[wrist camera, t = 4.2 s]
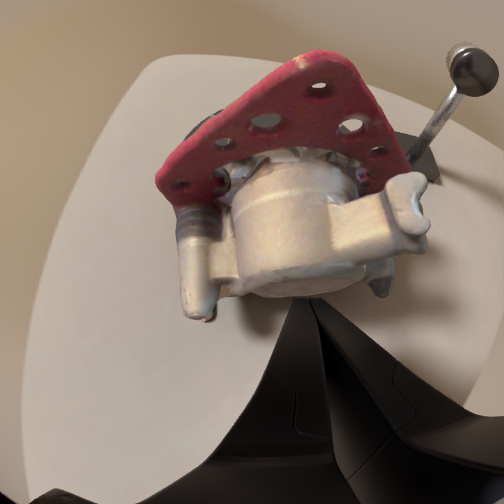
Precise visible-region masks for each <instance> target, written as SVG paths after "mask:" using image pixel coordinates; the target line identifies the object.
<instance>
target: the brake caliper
mask: <svg viewBox="0 0 504 504" xmlns="http://www.w3.org/2000/svg"><path fill="white" fill-rule="evenodd" d="M317 83H326V86H325V87H323V88H313V87H311V86H312V85H314V84H317ZM270 113H273V114H278V115H280V117H281V119H280V121H279V122H278V123H276V124H275V125H273V126H269V127H261V126H257V125H254V124H253V123H252V122H251V119H252V118H254V117H257V116H259V115H262V114H270ZM350 119H358V120H361V121H362V126H361V127H360V128H359V129H357V130H355V131H351V132H341V131H340V127H339V125H340V124H341V123H342V122H343V121H346V120H350ZM220 139H228V144H227V145H218V144H216V143H215V141H217V140H220ZM376 147H379V148H377V149H373V148H376ZM372 149H373V150H372ZM332 152H333V154H334V155H335V156H336V159H335V160H334V161H333V162H331V161H329V160H330V158H331V156H332ZM339 158H345V159H346V160H347V161H348V164H347V165H346V167H344V166H343V165H342V164H341V163H340V162H339ZM227 164H228V165H227ZM224 165H227V167H226V168H224V167H222V166H224ZM366 169H368V170H366ZM155 184H156V186H157V188H158V190H159V191H160V192H161V193H162V194H163V195H164V196H165V198H166V199H167V200H168V201H169V202H170V203H171V204H172V206H173V209H174V212H175V214H176V218H177V224H176V240H177V249H178V263H179V278H180V294H181V300H182V309H183V313H184V315H185V316H186V317H188V318H190V319H194V320H201V321H202V322H205V321H207V320H209V319H211V318H212V316H213V308H214V306H215V304H216V302H217V301H218V300H219V299H221V298H224V297H235V296H244V295H246V294H248V293H250V292H252V293H255V294H257V295H259V296H262V297H267V298H277V297H290V296H308V295H314V294H321V293H328V292H334V291H338V290H342V289H344V288H347V287H348V286H350V285H352V284H355V283H357V282H358V281H364V282H365V283H367V284H368V285H369V287H370V288H371V289H372V290H373V292H374V294H375V295H376V296H377V297H379V298H384V297H386V296H388V295H389V294H390V292H391V290H392V280H393V277H394V262H393V257H394V256H397V255H400V254H405V253H411V254H423V253H425V252H426V251H427V250H428V241H427V237H426V234H425V233H427V231H428V230H429V228H430V226H431V224H430V220H428V219H427V218H425V217H424V216H423V208H422V204H421V203H420V202H419V200H420V198H421V196H422V194H423V193H424V192H425V190H426V189H427V186H428V181H427V178H426V177H425V175H423V174H422V173H420V172H411V166H410V164H409V162H408V161H407V159H406V157H405V154H404V152H403V150H402V149H401V147H400V144H399V142H398V140H397V138H396V135H395V132H394V130H393V128H392V127H391V125H390V124H389V122H388V120H387V118H386V116H385V114H384V112H383V110H382V109H381V107H380V106H379V105H378V103H377V101H376V99H375V97H374V96H373V94H372V93H371V91H370V90H369V89H368V87H367V86H366V84H365V83H364V81H363V80H362V78H361V76H360V74H359V72H358V71H357V69H356V67H355V66H354V65H353V63H351V62H350V61H349V60H348V59H347V58H345V57H344V56H343V55H341V54H339V53H337V52H335V51H330V50H319V49H318V50H312V51H309V52H306V53H304V54H301V55H299V56H297V57H295V58H293V59H291V60H289V61H288V62H286V63H285V64H283V65H282V66H280V67H278V68H277V69H275V70H274V71H273V72H271V73H270V74H268V75H267V76H266V77H265V78H263V79H262V80H261V81H260V82H258V83H257V84H256V85H254V86H253V87H252V88H250V89H249V90H248V91H246V92H245V93H244V94H243V95H242V96H241V97H240V98H238V99H237V100H236V101H234V102H233V103H231V104H229V105H228V106H227V107H226V108H225V109H224V110H222V111H221V112H220V113H219V114H217V115H215V116H213V117H211V118H209V119H208V120H207V121H206V122H204V123H203V124H202V125H201V126H200V127H199V128H198V129H197V131H196V132H195V133H194V134H193V135H191V136H190V137H189V138H187V139H186V140H185V141H183V142H182V143H181V144H180V145H179V146H178V147H177V148H176V149H175V150H174V151H173V152H172V153H171V154H170V155H169V156H168V158H167V159H166V161H165V162H164V164H163V166H162V168H161V169H160V170H159V171H158V172H157V173H156V175H155Z"/></svg>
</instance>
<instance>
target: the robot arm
mask: <svg viewBox="0 0 504 504" xmlns="http://www.w3.org/2000/svg"><path fill="white" fill-rule="evenodd" d="M0 504H18V503H17V502H15V501H14V500H12V499H11V498H10V497H8V496H7V495H5V494H4V493H2V492H1V491H0ZM29 504H97V503H94V502H92V501H89V500H87V499H84V498H82V497H79V496H77V495H74V494H72V493H70V492H67V491H64V490H61V489H58V488H54V489H52V490H50V491H48V492H47V493H45V494H43V495H41V496H39V497H38V498H36V499H34V500H33V501H32V502H31V503H29ZM136 504H504V416H499V417H486V416H480V415H476V414H474V413H472V412H470V411H468V410H466V409H464V408H463V407H461V406H460V405H459V404H457V403H456V402H454V401H453V400H451V399H450V398H448V397H447V396H445V395H444V394H442V393H441V392H439V391H438V390H436V389H435V388H433V387H432V386H430V385H429V384H428V383H426V382H425V381H423V380H422V379H421V378H419V377H418V376H417V375H415V374H414V373H413V372H412V371H410V370H409V369H408V368H407V367H405V366H404V365H403V364H402V363H401V362H399V361H396V358H394V357H393V356H392V355H391V354H390V353H388V352H387V351H386V350H385V349H383V348H382V347H381V346H380V345H379V344H377V343H376V342H375V341H374V340H373V339H371V338H370V337H369V336H368V335H366V334H365V333H364V332H363V331H362V330H360V329H359V328H358V327H357V326H355V325H354V324H353V323H352V322H351V321H349V320H348V319H347V318H346V317H344V316H343V315H342V314H341V313H340V312H338V311H337V310H336V309H335V308H333V307H332V306H331V305H330V304H328V303H327V302H326V301H325V300H324V299H322V298H308V299H307V298H297V297H296V298H294V299H293V301H292V304H291V306H290V309H289V312H288V314H287V317H286V320H285V322H284V325H283V327H282V330H281V332H280V335H279V338H278V340H277V343H276V345H275V348H274V350H273V352H272V355H271V357H270V360H269V362H268V365H267V367H266V369H265V371H264V374H263V376H262V379H261V381H260V383H259V385H258V387H257V389H256V391H255V393H254V395H253V396H252V398H251V399H250V401H249V403H248V404H247V406H246V408H245V409H244V411H243V412H242V413H241V415H240V416H239V418H238V419H237V421H236V422H235V423H234V425H233V426H232V428H231V429H230V430H229V432H228V433H227V435H226V436H225V437H224V439H223V440H222V441H221V443H220V444H219V445H218V447H217V448H216V449H215V450H214V451H213V453H212V454H211V455H210V456H209V457H208V458H207V459H206V460H205V461H204V462H203V463H202V464H201V465H199V466H198V467H196V468H195V469H193V470H192V471H191V472H189V473H188V474H186V475H185V476H183V477H181V478H180V479H178V480H177V481H175V482H174V483H172V484H170V485H169V486H167V487H166V488H164V489H162V490H161V491H159V492H157V493H156V494H154V495H152V496H150V497H149V498H147V499H145V500H143V501H141V502H139V503H136Z"/></svg>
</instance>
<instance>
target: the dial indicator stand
mask: <svg viewBox="0 0 504 504" xmlns="http://www.w3.org/2000/svg"><path fill="white" fill-rule="evenodd" d="M446 65H447V68H448V70H449V72H450V76H451V79H452V80H453V82H454V83H453V85H452V87H451V88H450V90H449V91H448V93H447V95H446V96H445V98H444V99H443V101H442V102H441V104H440V106H439V107H438V109H437V110H436V112H435V113H434V115H433V116H432V118H431V119H430V121H429V122H428V124H427V125H426V127H425V128H424V130H423V131H422V132H421V134H420V135H419V137H416V136H412V135H408V134H404V133H400V132H395V131H394V132H395V135H396V138H397V140H398V142H399V144H400V147H401V149H402V150H403V152H404V154H405V157H406V159H407V161H408V162H409V164H410V166H411V172H420V173H422V174H423V175H425V177H426V178H427V181H432V182H434V181H435V180H436V179H437V178H438V177H439V176H440V174H439V171H438V168H437V165H436V163H435V160H434V157H433V154H432V152H431V149H430V147H429V145H430V144H431V142H432V141H433V140H434V138H435V137H436V136H437V134H438V133H439V132H440V130H441V129H442V127H443V126H444V125H445V123H446V122H447V121H448V119H449V118H450V116H451V115H452V113H453V112H454V111H455V109H456V108H457V106H458V105H459V104H460V102H461V101H462V99H463V98H464V96H465V95H467V96H471V97H478V96H482V95H485V94H487V93H488V92H490V91H491V90H492V89H493V88H494V87H495V85H496V83H497V81H498V77H499V71H498V67H497V65H496V63H495V61H494V60H493V59H492V58H491V57H490V56H489V55H488V54H487V53H486V52H485V51H483V50H481V49H479V48H478V47H477V46H476V45H474V44H472V43H466V42H465V43H459V44H457V45H455V46H454V47H453V48H451V50H450V51H449V52H448V55H447V58H446Z"/></svg>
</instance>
